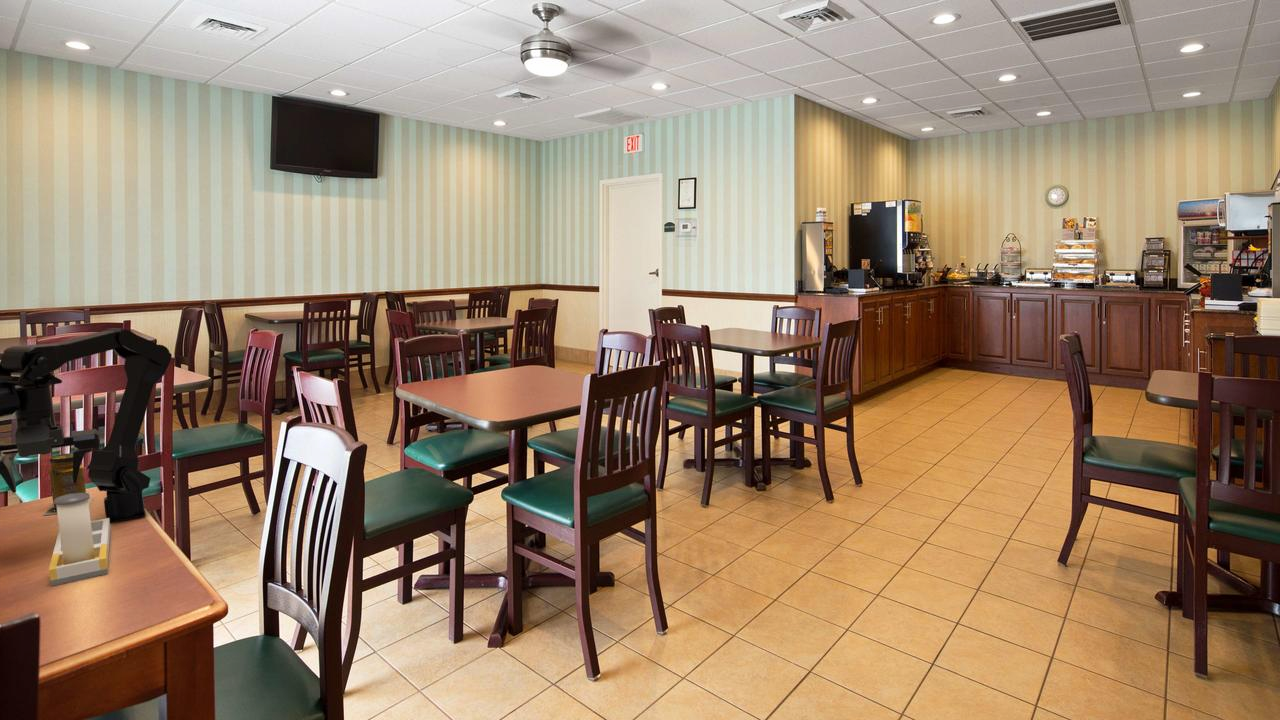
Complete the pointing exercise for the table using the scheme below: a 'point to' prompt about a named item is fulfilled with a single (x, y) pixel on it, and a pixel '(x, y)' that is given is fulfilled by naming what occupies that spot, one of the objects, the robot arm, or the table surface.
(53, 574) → the socket bank
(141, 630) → the table surface
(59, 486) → the condiment
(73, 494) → the post
